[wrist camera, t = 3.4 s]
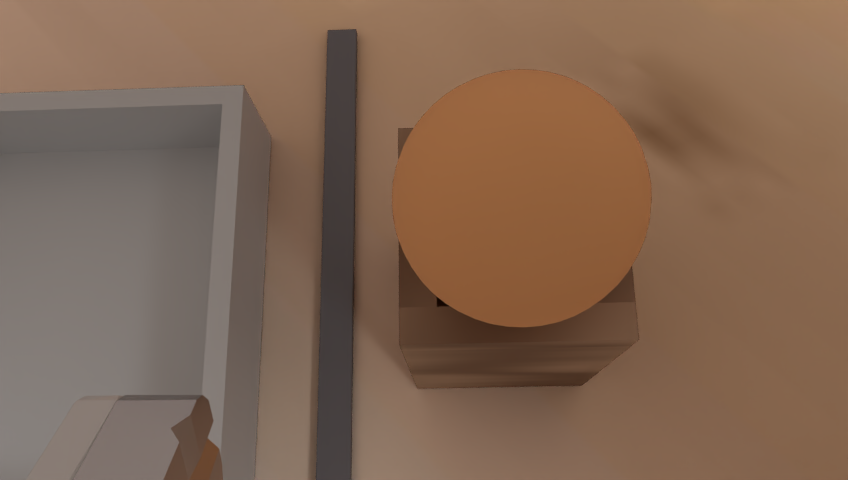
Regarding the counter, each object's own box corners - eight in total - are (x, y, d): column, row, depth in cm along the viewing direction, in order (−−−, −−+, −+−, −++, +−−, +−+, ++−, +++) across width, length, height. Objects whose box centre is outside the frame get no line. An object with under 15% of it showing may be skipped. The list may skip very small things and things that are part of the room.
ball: (611, 133, 18) (666, 11, 14) (632, 344, 17) (701, 290, 12) (400, 140, 18) (380, 21, 14) (401, 350, 17) (379, 297, 12)
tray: (271, 136, 27) (243, 84, 23) (249, 589, 22) (211, 608, 19) (-78, 147, 27) (-156, 98, 24) (-166, 594, 23) (-276, 613, 19)
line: (357, 34, 28) (355, 29, 27) (347, 745, 21) (346, 749, 21) (329, 34, 28) (327, 30, 27) (310, 745, 21) (308, 749, 21)
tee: (570, 229, 25) (617, 121, 18) (581, 385, 24) (639, 339, 16) (415, 233, 25) (398, 128, 18) (417, 388, 24) (399, 345, 16)
